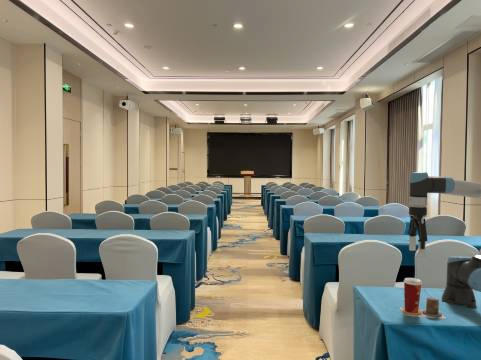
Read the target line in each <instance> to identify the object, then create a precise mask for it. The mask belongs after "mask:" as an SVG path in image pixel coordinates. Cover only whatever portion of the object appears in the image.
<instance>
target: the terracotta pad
mask: <svg viewBox="0 0 481 360" xmlns="http://www.w3.org/2000/svg"><path fill="white" fill-rule="evenodd" d="M403 308H404V309H402V311H401V313H403V312H404V313H406V314H409V315H421V314H422V312H421V311H419V310H418V313H409V312H406V311H405V307H403Z"/></svg>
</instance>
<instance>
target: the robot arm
mask: <svg viewBox="0 0 481 360" xmlns="http://www.w3.org/2000/svg"><path fill="white" fill-rule="evenodd" d="M408 182H409V193H408V194H409V195H408V196H409V198H408V199H407V201H408V205H409V207H408V215H410V221H409V224H408V230H407V234H408V236H409V243H408V244H409V245H408V250H409V251H416V249H418V250H417V251H418V252H417V255H418V257H424V258H425V257H426V242H428V234H427V233H428V232H427V224H426V218H423V217H425V216H427V215H428V208H427V206H428V194H444V195H452V196H459V197H466V198H473V199H481V182H478V181H469V180H461V179H456V178H455V179H454V178H453V177H451V176H437V175H435V176H434V175H432V176H431V175H430V176H429V174H428V172H426V171H423V172H422V171H412V172H411V173H410V174H409V181H408ZM417 235H418V236H417ZM417 237H418V240H417ZM416 241H417V242H418V244H417V242H416ZM416 244H417V245H418V247H417V245H416ZM446 264H447V265H446V266H447V267H446V281H445V282H446V285H445V288H444V290H443V293H442V294H441V302H442V303H448V304H452V305H456V306H463V307H466V308H468V309H472V308H475V307H476V308H477V300H476V295H475V293H474V291H476V292H480V293H481V248H480V249H479V251H478V253H477V254H476V255H472V256H463V255H460V256H459V255H457V256H456V255H450V256H449V257H448V258H447V262H446Z"/></svg>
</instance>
